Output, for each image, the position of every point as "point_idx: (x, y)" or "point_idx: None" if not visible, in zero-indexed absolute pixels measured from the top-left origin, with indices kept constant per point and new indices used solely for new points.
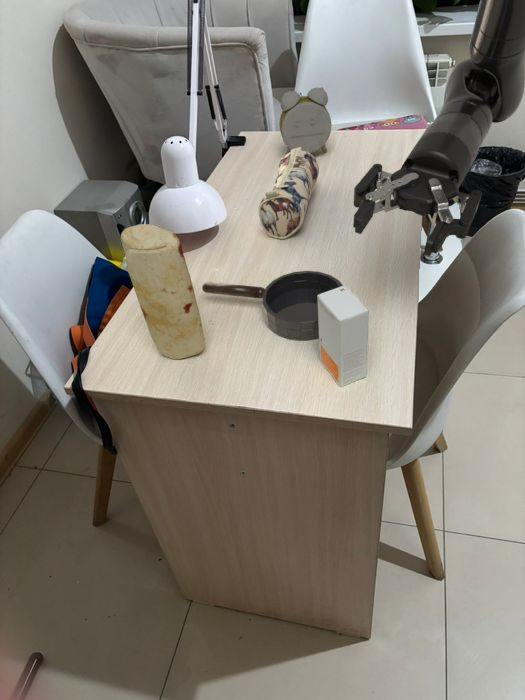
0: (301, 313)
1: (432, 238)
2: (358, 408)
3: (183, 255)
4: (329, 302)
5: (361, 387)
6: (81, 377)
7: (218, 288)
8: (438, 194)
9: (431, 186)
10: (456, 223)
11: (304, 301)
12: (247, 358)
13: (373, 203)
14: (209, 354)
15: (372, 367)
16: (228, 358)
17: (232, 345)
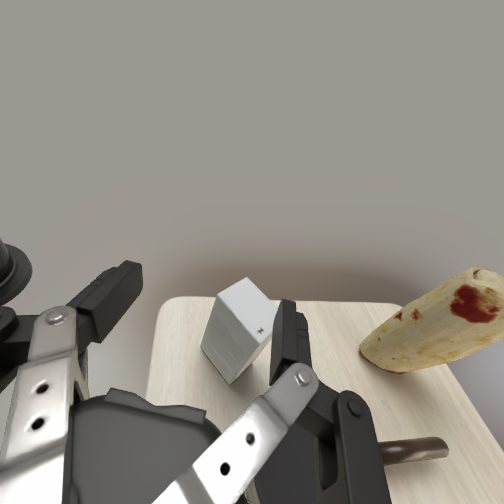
0: (304, 452)
1: (125, 266)
2: (203, 307)
3: (458, 303)
4: (268, 304)
5: (203, 332)
6: None
7: (424, 440)
8: (43, 407)
9: (61, 454)
10: (28, 325)
11: (314, 493)
12: (319, 353)
13: (282, 354)
14: (352, 352)
15: (193, 363)
16: (334, 350)
17: (342, 369)
